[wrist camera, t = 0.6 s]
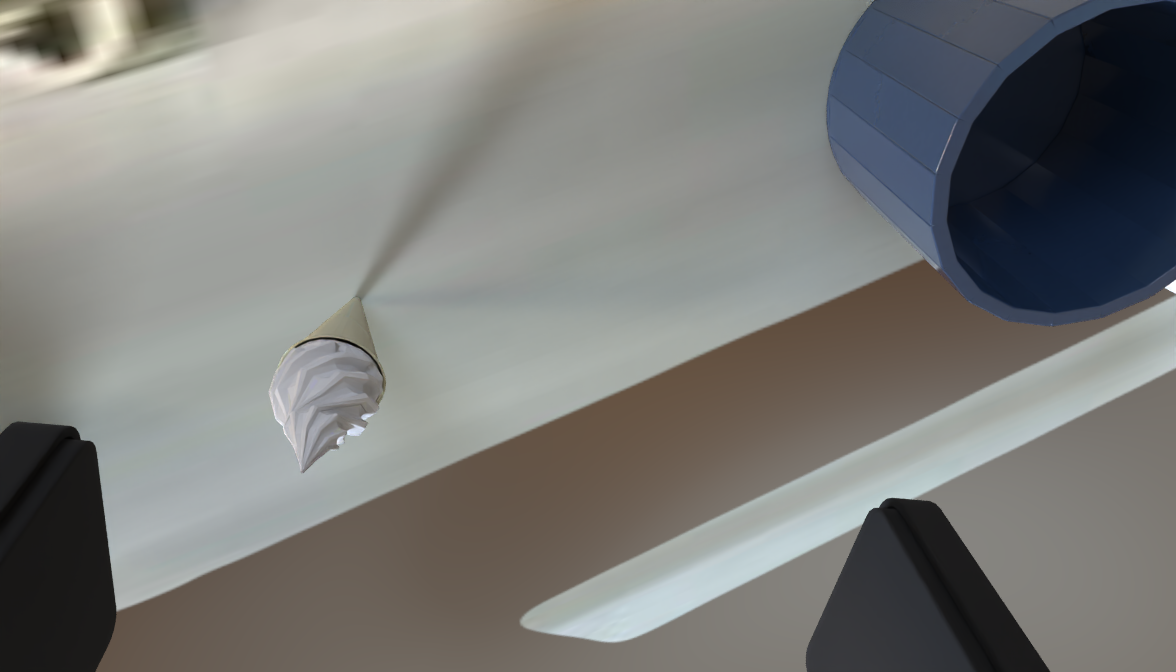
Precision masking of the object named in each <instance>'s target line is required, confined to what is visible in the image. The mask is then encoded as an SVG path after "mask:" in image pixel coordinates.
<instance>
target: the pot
mask: <svg viewBox="0 0 1176 672" xmlns="http://www.w3.org/2000/svg"><path fill="white" fill-rule="evenodd" d="M827 129H828V136H829V141H830V145H831V148H832V152H833V155H834V157H835V159H836V161H837V164H838V166H839V168H840V169H841V171H842V173H843V175H844V176H845V177H846V179H847V180H848V181H849V182H850V183H851V184H852V186H853V187H854V188H855V189H856V190H857V191H858V193H859V194H860V195H861V196H862V197H863V199H864V200H865V201H866V202H868V203H869V204H870V205H871V206H872V207H873V208H874V209H875V210H876V211H877V212H878V213H879V214H880V215H881V216H882V217H883V218H884V219H885V220H886V221H887V222H888V223H889V224H890V225H891V226H892V227H893V228H894V229H895V230H896V231H897V232H898V233H899V234H900V235H901V236H902V237H903V238H904V239H905V240H906V241H907V242H908V243H909V244H910V245H911V246H912V247H913V248H914V249H915V250H916V251H917V252H918V253H919V254H920V255H921V256H922V257H923V258H924V259H925V260H926V261H927V262H928V263H929V264H930V265H931V266H932V267H934V269H936V270H937V271H938V272H939V273H940V274H941V275H942V276H943V277H944V278H945V279H946V280H947V281H948V282H949V283H950V284H951V285H952V286H953V287H954V288H955V289H956V290H957V291H958V292H959V293H960V294H961V295H962V296H963V297H964V298H965V299H966V300H967V301H969V302H970V303H972V304H973V305H975V306H977V307H979V308H981V309H983V310H985V311H987V312H989V313H991V314H993V315H995V316H997V317H999V318H1001V319H1003V320H1006V321H1010V322H1019V323H1026V324H1034V325H1042V326H1058V325H1064V324H1071V323H1077V322H1082V321H1089V320H1095V319H1099V318H1103V317H1106V316H1108V315H1110V314H1113V313H1115V312H1117V311H1120V310H1122V309H1125V308H1127V307H1129V306H1132V305H1134V304H1136V303H1139V302H1141V301H1143V300H1146V299H1148V298H1150V296H1153V295H1155V294H1156V293H1158V292H1159V291H1161V290H1162V289H1163V288H1165V287H1166V286H1168V285H1169V284H1171V283H1172V282H1174V281H1175V280H1176V0H874V2H873V3H872V4H871V5H870V6H869V8H868V9H867V10H866V11H865V13H864V14H863V15H862V16H861V18H860V19H859V21H858V22H857V24H856V25H855V27H854V28H853V30H852V31H851V33H850V34H849V36H848V38H847V40H846V42H845V44H844V46H843V48H842V50H841V52H840V54H839V57H838V60H837V62H836V65H835V67H834V70H833V74H832V78H831V82H830V86H829V92H828V100H827Z"/></svg>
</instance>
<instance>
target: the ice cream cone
mask: <svg viewBox="0 0 1176 672" xmlns="http://www.w3.org/2000/svg"><path fill="white" fill-rule="evenodd" d="M385 386H386V380H385V374H384V371H383V368H382V366H381V364H380V362H379V361H378V358H377V354H376V351H375V347H374V344H373V341H372V337H371V334H370V330H369V327H368V324H367V320H366V317H365V313H364V310H363V306H362V303H361V300H360V299H359V298H358V297H354V298H353V299H351V300H350V301H349V302H348V303H347V304H345V305H344V306H343V307H342V308H341V309H339V310H338V311H337V312H336V313H335V314H333V315H332V316H331V317H330V318H329V319H327V320H326V321H325V322H324V323H323V324H322V325H321V326H320V327H318V328H317V329H316V330H315V331H314V332H312V333H311V334H310V335H309V336H308V337H306V338H305V339H304V340H301V341H299V342H298V343H296V344H294V345H293V346H292V347H291V348H289V349H288V350H287V351H286V353H285V354H284V355H283V356H282V358H281V360H280V362H279V365H278V369H277V371H276V372H275V374H274V377H273V380H272V383H271V387H270V390H269V396H270V400H271V403H272V407H273V411H274V414H275V418H276V420H277V421H278V422H279V423H280V424H281V425H283V426H284V427H283V431H284V433H285V435H286V436H287V438H288V439H289V441H290V442H291V444H292V446H293V448H294V451H295V453H296V456H297V459H298V462H299V465H300V470H301V474H302V473H304V472H305V471H306V470H307V469H308V468H309V467H310V466H311V465H312V464H313V463H314V462H315V461H316V460H318V459H319V458H320V457H321V456H322V455H324V454H325V453H326V452H327V451H329V450H338V449H339V446H338V445H340V444H343V443H344V437H345V435H346V434H348V435H352V436H358V435H360V434H361V433H362V432H363V430H364V429H365V428H366V426H367V424H368V422H366V421H364V420H365V419H367V418H369V417H370V416H372V415H374V414H375V413H377V411H378V410H379V406H378V405H379V403H380V401H381V400H382V398H383V395H384V392H385Z"/></svg>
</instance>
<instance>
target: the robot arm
mask: <svg viewBox="0 0 1176 672" xmlns="http://www.w3.org/2000/svg"><path fill="white" fill-rule="evenodd" d="M115 622H116V602H115V594H114V586H113V579H112V571H111V563H110V555H109V547H108V539H107V531H106V523H105V515H104V507H103V499H102V491H101V483H100V475H99V467H98V459H97V452H96V447H95V445H94V443H93V442H91V441H84V440H81V439H80V435H79V432H78V431H77V429H76V428H74V427H72V426H64V425H52V424H41V423H29V422H15V423H12V424H10V425H9V426H8V427H7V428H6V429H5V430H4V431H3V432H2V433H1V435H0V672H95V671H96V669H97V667H98V665H99V663H100V661H101V659H102V657H103V655H104V653H105V651H106V649H107V647H108V644H109V642H110V640H111V637H112V634H113V631H114V626H115ZM806 668H807V672H1050V671H1049V669H1048V668H1047V666H1046V665H1045V663H1044V662H1043V660H1042V659H1041V658H1040V656H1039V654H1038V653H1037V651H1036V650H1035V649H1034V647H1033V645H1032V644H1031V642H1030V641H1029V639H1028V638H1027V637H1026V635H1025V634H1024V632H1023V631H1022V629H1021V628H1020V626H1019V625H1018V623H1017V622H1016V620H1015V619H1014V617H1013V616H1012V614H1011V613H1010V611H1009V610H1008V608H1007V607H1006V605H1005V604H1004V602H1003V601H1002V599H1001V598H1000V597H999V595H998V594H997V592H996V590H995V589H994V588H993V586H992V585H991V583H990V582H989V580H988V579H987V577H986V576H985V574H984V573H983V571H982V570H981V568H980V567H979V565H978V564H977V562H976V561H975V559H974V558H973V556H972V555H971V553H970V552H969V550H968V549H967V547H966V546H965V544H964V543H963V542H962V540H961V539H960V537H959V536H958V534H957V533H956V531H955V530H954V528H953V527H952V525H951V524H950V522H949V521H948V519H947V518H946V516H945V515H944V513H943V512H942V510H941V509H940V508H939V507H938V506H937V505H936V504H935V503H932V502H931V501H922V500H910V499H899V498H889V499H886V500H885V501H884V502H882V504H881V505H880V507H879V508H873V509H872V510H871V511H869V513H868V515H867V516H866V519H865V521H864V523H863V525H862V528H861V530H860V532H859V534H858V536H857V539H856V541H855V543H854V545H853V547H852V550H851V552H850V554H849V556H848V558H847V561H846V563H845V565H844V567H843V570H842V572H841V574H840V576H839V578H838V581H837V583H836V585H835V587H834V590H833V592H832V594H831V596H830V598H829V601H828V603H827V605H826V607H825V609H824V612H823V614H822V616H821V618H820V620H819V623H818V625H817V627H816V629H815V631H814V634H813V636H812V638H811V640H810V642H809V645H808V648H807V652H806Z"/></svg>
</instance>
